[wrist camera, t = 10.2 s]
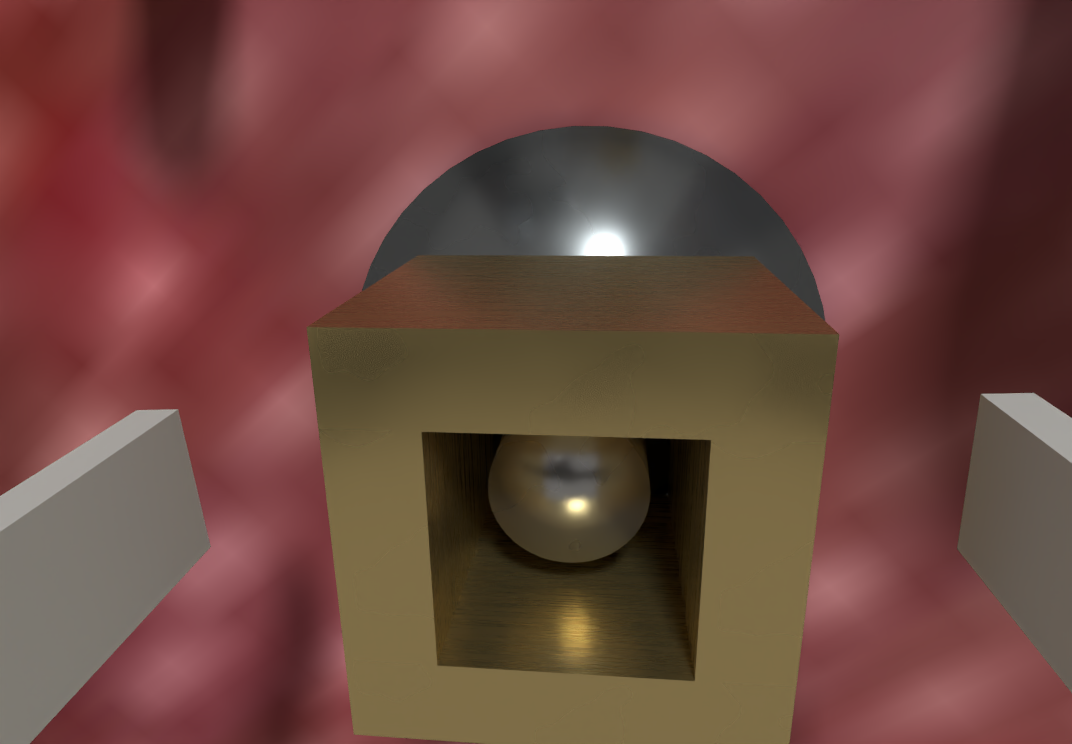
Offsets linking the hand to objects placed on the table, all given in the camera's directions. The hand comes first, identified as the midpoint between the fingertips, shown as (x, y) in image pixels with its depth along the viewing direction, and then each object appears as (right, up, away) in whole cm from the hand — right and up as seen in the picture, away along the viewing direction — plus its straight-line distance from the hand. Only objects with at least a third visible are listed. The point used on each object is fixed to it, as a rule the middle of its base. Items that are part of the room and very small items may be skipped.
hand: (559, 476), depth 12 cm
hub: (+1, +2, +7) cm, 7 cm away
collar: (+1, +1, +4) cm, 4 cm away
